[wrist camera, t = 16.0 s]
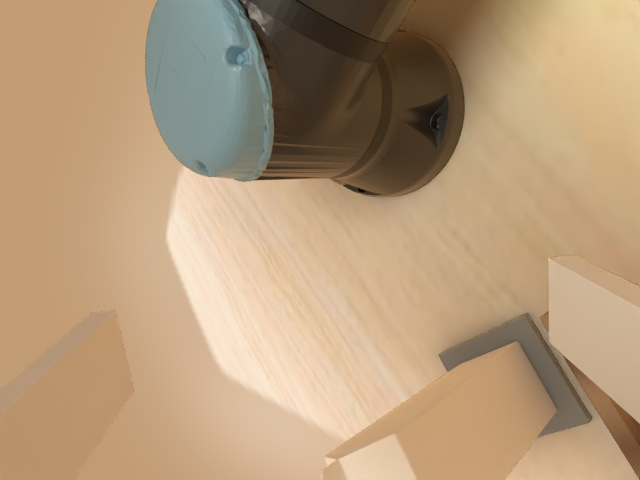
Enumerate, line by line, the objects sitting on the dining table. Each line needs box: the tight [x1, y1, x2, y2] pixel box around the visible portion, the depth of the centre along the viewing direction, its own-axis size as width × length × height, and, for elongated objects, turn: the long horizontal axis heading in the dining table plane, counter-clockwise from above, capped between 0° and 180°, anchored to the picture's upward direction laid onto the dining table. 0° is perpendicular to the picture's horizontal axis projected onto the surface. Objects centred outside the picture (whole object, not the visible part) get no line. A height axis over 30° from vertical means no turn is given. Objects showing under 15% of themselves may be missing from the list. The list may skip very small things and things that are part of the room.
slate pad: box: [439, 313, 592, 437], centre depth 40 cm, size 9×9×1 cm
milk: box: [321, 341, 557, 480], centre depth 32 cm, size 6×6×22 cm
